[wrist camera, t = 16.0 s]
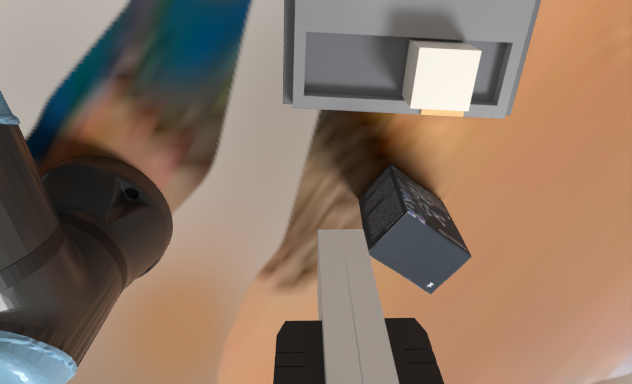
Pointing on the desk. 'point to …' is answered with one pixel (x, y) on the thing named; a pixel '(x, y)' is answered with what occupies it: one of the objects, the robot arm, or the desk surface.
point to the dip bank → (399, 51)
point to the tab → (440, 75)
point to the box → (411, 230)
